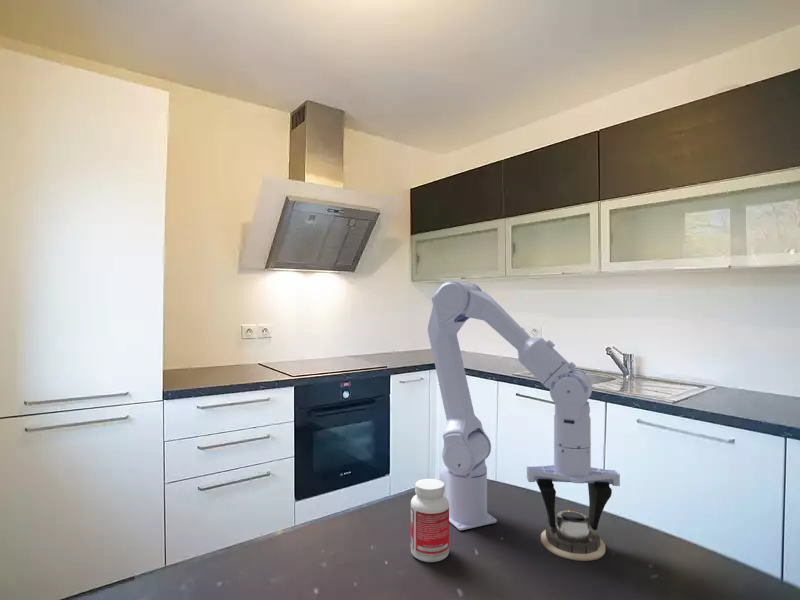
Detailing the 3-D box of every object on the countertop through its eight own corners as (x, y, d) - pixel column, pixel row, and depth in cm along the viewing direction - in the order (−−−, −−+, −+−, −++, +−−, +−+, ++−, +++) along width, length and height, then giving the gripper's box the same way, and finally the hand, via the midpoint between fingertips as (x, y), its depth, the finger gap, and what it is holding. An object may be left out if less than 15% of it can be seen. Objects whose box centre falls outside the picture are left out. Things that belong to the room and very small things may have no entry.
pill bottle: (457, 556, 73) (457, 485, 73) (426, 568, 69) (426, 494, 69) (433, 539, 78) (433, 473, 78) (403, 550, 74) (403, 481, 74)
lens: (560, 548, 74) (560, 522, 74) (553, 533, 79) (553, 508, 79) (593, 550, 73) (593, 524, 73) (584, 535, 78) (584, 510, 78)
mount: (528, 536, 79) (528, 525, 79) (572, 525, 83) (572, 515, 83) (571, 566, 70) (571, 554, 70) (619, 552, 74) (619, 541, 74)
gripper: (531, 449, 73) (531, 535, 73) (626, 453, 72) (627, 540, 72) (524, 437, 80) (524, 515, 80) (611, 440, 79) (611, 519, 79)
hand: (572, 526), depth 76 cm, fingers open, 6 cm apart
